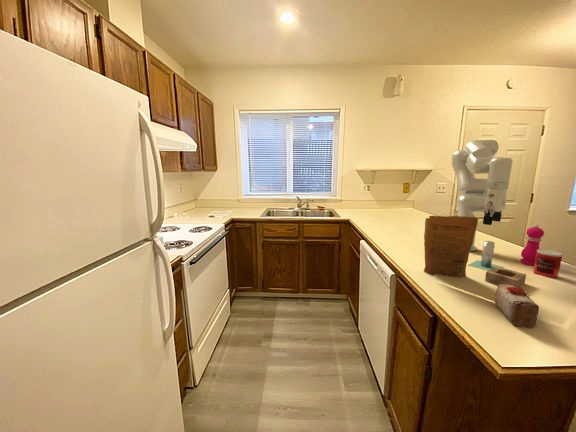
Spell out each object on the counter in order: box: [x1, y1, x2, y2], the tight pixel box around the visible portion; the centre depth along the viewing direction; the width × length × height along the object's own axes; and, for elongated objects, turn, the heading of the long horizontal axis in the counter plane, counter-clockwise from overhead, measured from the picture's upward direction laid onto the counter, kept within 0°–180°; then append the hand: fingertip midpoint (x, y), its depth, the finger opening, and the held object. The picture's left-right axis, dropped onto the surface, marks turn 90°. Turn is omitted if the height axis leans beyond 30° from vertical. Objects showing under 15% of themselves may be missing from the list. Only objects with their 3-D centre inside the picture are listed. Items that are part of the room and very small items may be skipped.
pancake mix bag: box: [423, 215, 479, 278], centre depth 109 cm, size 7×19×28 cm, turn 61°
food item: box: [494, 284, 540, 329], centre depth 81 cm, size 14×8×10 cm, turn 161°
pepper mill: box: [520, 223, 545, 267], centre depth 120 cm, size 7×7×20 cm
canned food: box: [532, 248, 563, 280], centre depth 108 cm, size 8×8×11 cm
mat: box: [467, 259, 505, 272], centre depth 118 cm, size 11×11×1 cm
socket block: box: [484, 266, 527, 288], centre depth 102 cm, size 10×10×5 cm
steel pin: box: [480, 240, 496, 268], centre depth 117 cm, size 4×4×12 cm
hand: (491, 222), depth 114 cm, fingers open, 9 cm apart
